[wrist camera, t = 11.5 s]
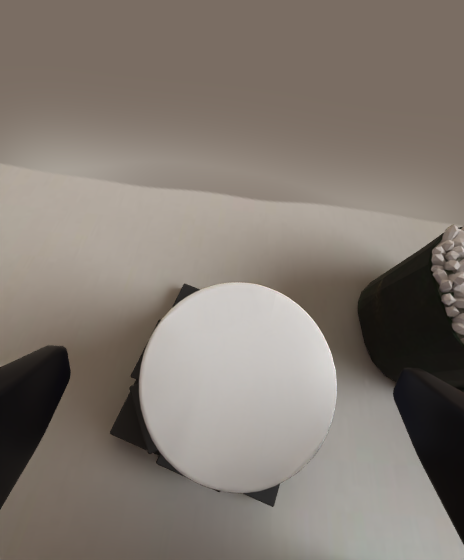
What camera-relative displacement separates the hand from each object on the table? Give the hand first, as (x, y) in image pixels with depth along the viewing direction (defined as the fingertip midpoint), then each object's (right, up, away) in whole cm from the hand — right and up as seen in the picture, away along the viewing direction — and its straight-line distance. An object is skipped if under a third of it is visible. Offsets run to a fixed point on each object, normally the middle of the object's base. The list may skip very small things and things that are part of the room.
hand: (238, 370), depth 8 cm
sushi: (+12, -1, +12) cm, 17 cm away
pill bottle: (-1, -3, +8) cm, 9 cm away
